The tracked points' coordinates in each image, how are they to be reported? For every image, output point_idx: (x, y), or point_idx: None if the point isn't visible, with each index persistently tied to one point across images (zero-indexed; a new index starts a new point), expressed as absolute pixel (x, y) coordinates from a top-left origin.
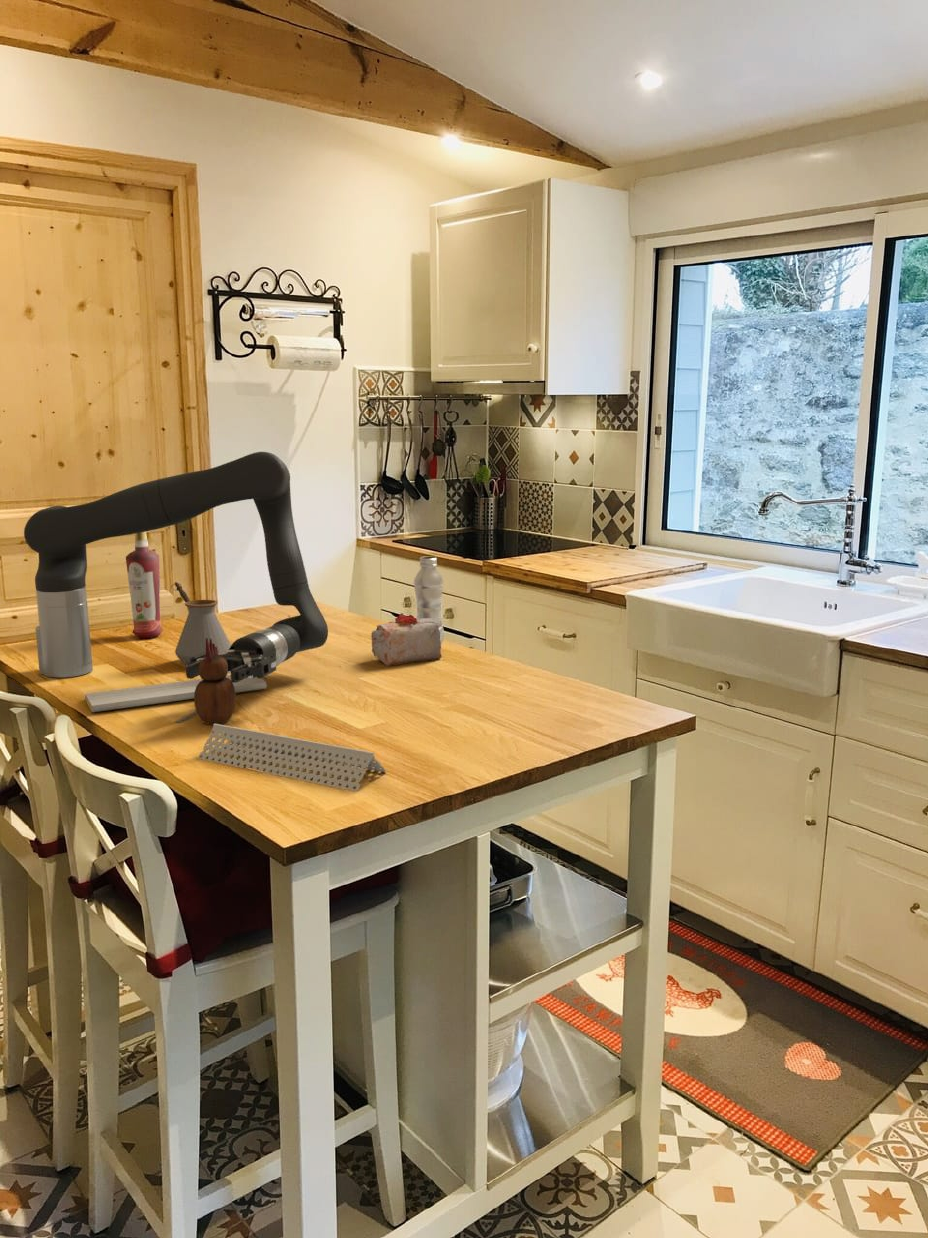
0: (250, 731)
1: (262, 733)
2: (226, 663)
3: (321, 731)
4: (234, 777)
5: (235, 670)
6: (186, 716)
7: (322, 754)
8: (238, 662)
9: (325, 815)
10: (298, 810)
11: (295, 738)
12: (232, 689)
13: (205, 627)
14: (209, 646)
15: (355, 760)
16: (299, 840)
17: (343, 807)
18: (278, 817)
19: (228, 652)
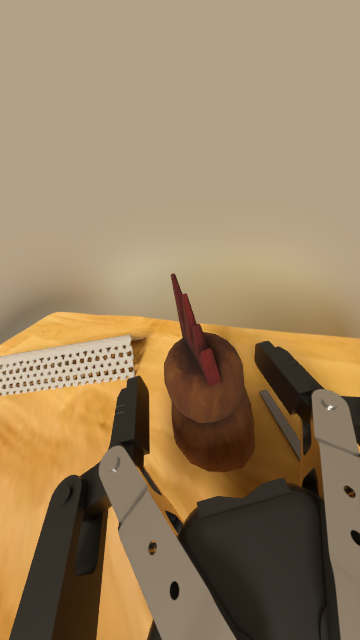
0: (84, 342)
1: (70, 345)
2: (167, 386)
3: (8, 502)
4: (100, 333)
5: (127, 381)
6: (283, 419)
7: (17, 374)
8: (195, 510)
9: (34, 332)
10: (49, 328)
11: (34, 351)
12: (173, 428)
13: None
14: (178, 305)
15: None
16: (48, 315)
17: (21, 342)
18: (60, 320)
19: (336, 587)
